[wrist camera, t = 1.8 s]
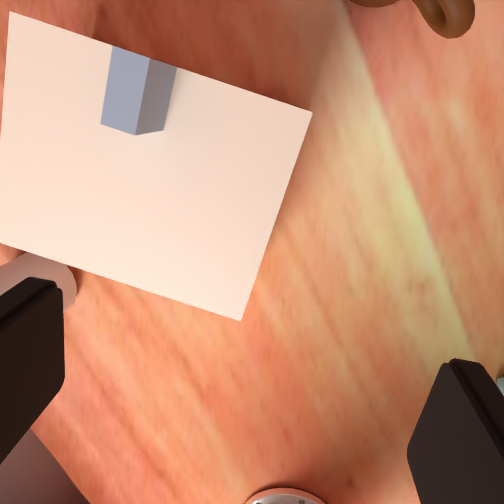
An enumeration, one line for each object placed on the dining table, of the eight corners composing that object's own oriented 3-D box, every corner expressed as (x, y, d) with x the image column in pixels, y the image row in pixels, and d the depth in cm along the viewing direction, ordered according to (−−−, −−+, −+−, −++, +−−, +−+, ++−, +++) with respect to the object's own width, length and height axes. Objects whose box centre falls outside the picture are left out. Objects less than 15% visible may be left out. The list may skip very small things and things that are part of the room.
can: (13, 299, 45) (-79, 363, 34) (17, 239, 42) (-82, 287, 31) (77, 318, 45) (5, 388, 34) (85, 259, 42) (9, 314, 31)
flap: (241, 317, 31) (230, 359, 26) (-2, 238, 31) (-62, 264, 26) (312, 112, 26) (317, 113, 20) (15, 13, 25) (-57, -11, 20)
